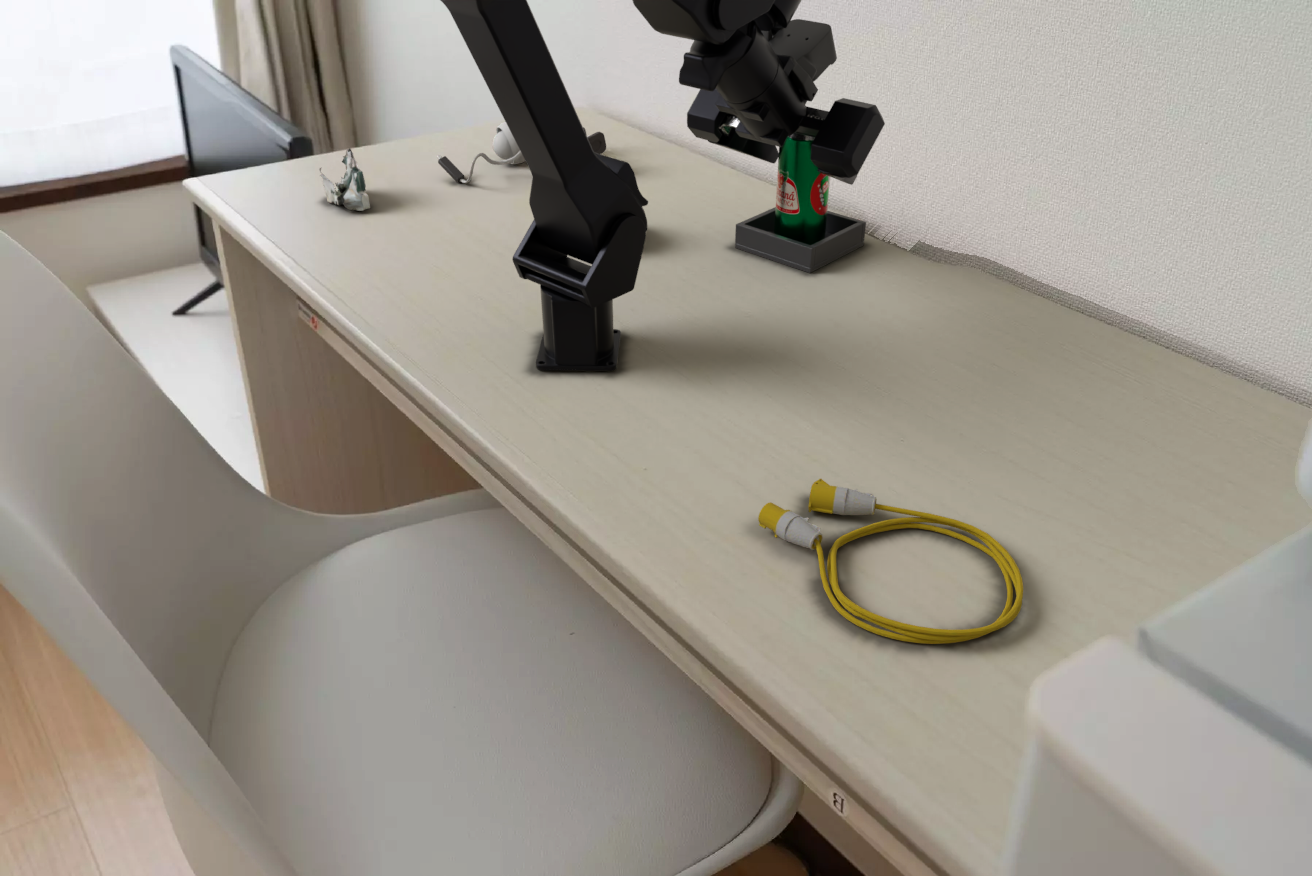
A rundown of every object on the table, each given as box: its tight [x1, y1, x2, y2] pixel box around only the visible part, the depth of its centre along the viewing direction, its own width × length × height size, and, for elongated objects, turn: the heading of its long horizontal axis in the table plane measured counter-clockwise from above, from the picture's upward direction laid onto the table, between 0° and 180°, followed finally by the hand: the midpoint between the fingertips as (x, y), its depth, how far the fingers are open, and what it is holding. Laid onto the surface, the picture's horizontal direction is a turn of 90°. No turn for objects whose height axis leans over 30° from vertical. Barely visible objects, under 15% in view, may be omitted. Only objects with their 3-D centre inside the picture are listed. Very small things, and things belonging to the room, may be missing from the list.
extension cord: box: [757, 478, 1024, 645], centre depth 64 cm, size 12×16×2 cm
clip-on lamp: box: [436, 120, 607, 184], centre depth 124 cm, size 12×6×18 cm
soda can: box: [774, 133, 831, 245], centre depth 103 cm, size 5×5×12 cm
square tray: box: [734, 206, 867, 274], centre depth 106 cm, size 9×9×2 cm
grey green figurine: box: [318, 147, 371, 212], centre depth 115 cm, size 4×8×7 cm, turn 31°
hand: (813, 169), depth 103 cm, fingers open, 9 cm apart
